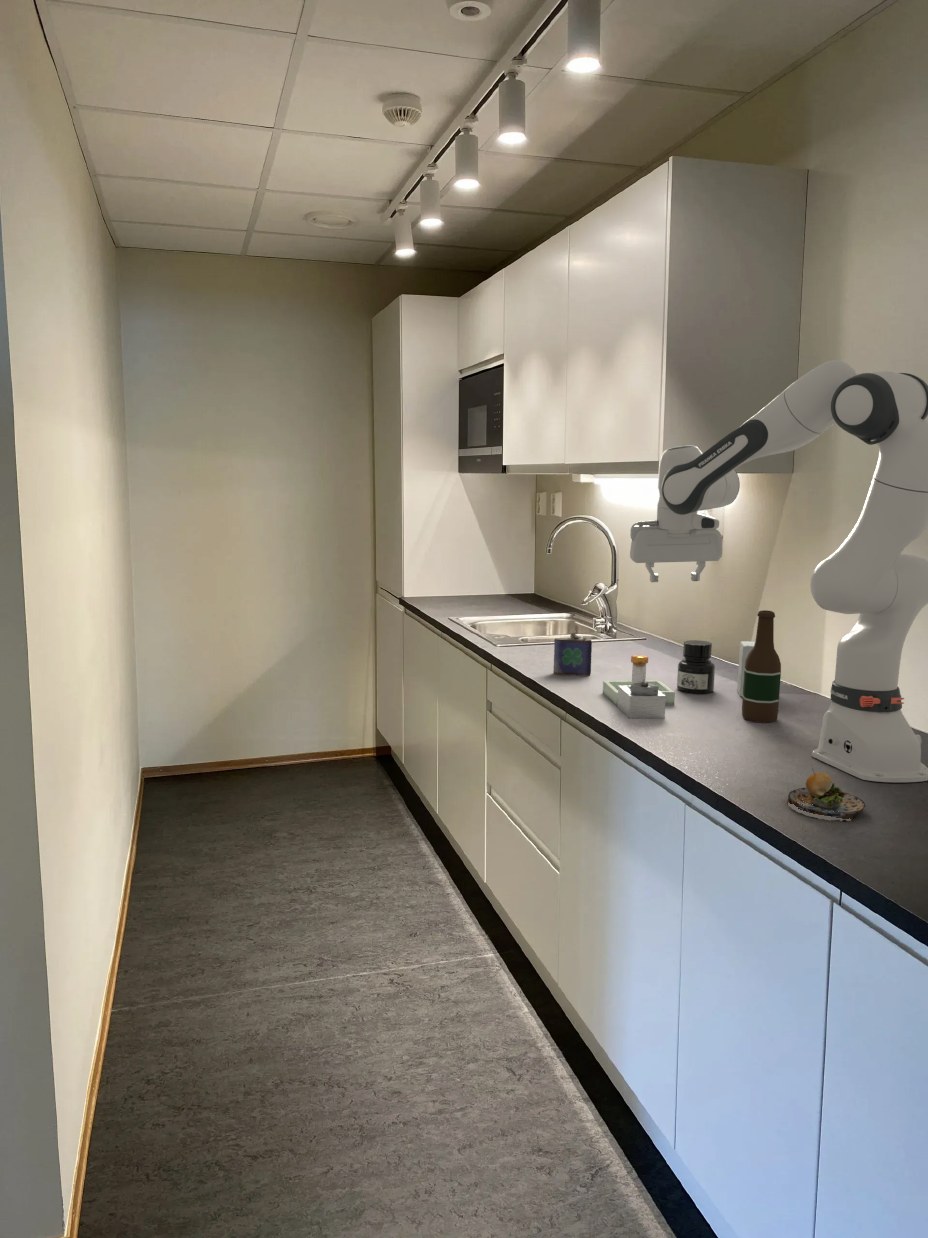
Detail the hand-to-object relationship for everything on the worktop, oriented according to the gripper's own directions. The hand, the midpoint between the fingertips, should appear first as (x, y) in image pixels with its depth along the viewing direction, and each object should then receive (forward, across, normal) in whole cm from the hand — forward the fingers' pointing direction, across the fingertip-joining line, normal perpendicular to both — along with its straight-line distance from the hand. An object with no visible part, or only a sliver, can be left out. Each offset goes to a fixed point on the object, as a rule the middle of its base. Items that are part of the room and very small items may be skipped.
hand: (674, 581), depth 209 cm
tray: (+30, -6, +7) cm, 31 cm away
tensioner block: (+29, -8, -6) cm, 30 cm away
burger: (+25, +6, -66) cm, 71 cm away
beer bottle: (+29, +17, -12) cm, 36 cm away
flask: (+32, -16, +33) cm, 49 cm away
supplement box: (+31, +24, +10) cm, 41 cm away
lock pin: (+29, -9, -4) cm, 30 cm away
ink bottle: (+31, +11, +15) cm, 36 cm away
